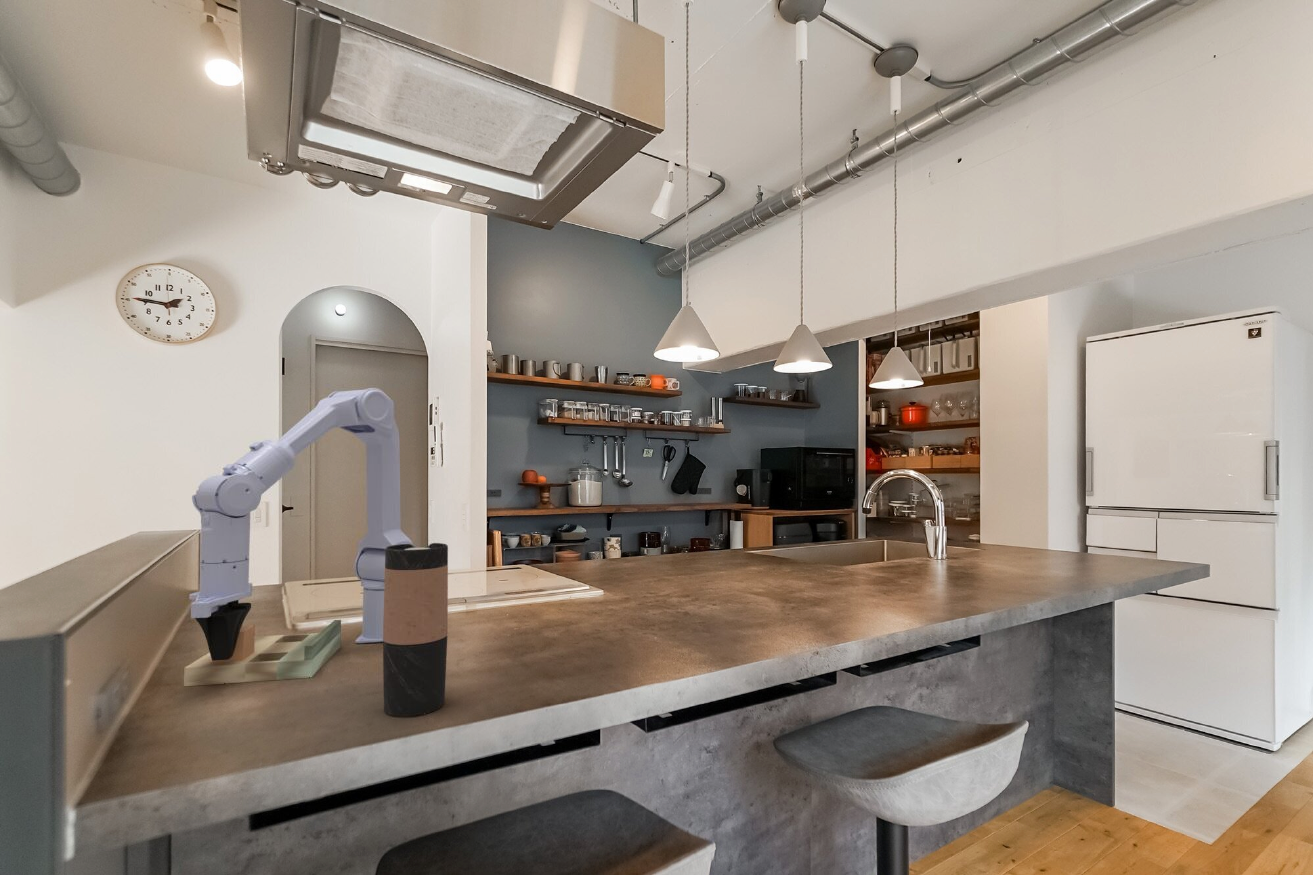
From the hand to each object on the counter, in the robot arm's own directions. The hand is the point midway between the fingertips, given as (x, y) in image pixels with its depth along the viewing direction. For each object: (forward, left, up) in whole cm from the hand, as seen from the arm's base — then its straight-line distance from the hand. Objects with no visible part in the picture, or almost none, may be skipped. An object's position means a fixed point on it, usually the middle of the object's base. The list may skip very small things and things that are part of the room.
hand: (222, 658), depth 89 cm
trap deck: (-3, -8, -3) cm, 9 cm away
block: (0, -4, -1) cm, 4 cm away
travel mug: (-27, +15, -4) cm, 32 cm away
